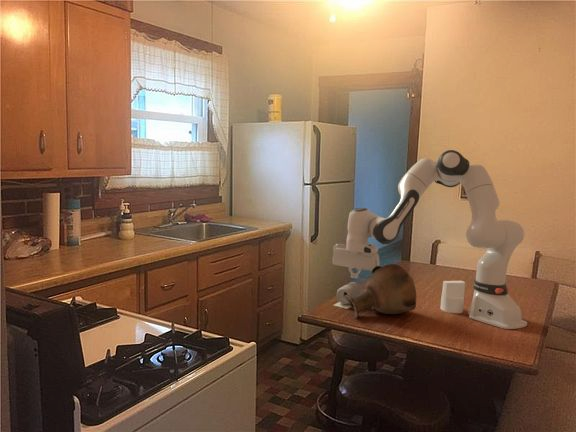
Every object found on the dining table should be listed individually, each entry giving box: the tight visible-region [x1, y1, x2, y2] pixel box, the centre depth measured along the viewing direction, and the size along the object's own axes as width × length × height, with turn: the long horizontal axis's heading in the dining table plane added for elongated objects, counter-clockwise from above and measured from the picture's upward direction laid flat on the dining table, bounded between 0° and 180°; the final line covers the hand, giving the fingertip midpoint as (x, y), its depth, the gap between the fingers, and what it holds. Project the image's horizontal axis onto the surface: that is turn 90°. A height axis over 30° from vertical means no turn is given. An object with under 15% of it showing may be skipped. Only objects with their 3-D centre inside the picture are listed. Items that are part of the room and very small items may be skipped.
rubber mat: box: [332, 301, 352, 310], centre depth 209 cm, size 12×6×1 cm, turn 149°
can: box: [336, 281, 363, 304], centre depth 211 cm, size 8×8×12 cm
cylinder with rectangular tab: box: [440, 280, 466, 314], centre depth 208 cm, size 9×9×12 cm
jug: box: [345, 263, 417, 319], centre depth 198 cm, size 20×20×30 cm
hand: (354, 277), depth 215 cm, fingers closed
